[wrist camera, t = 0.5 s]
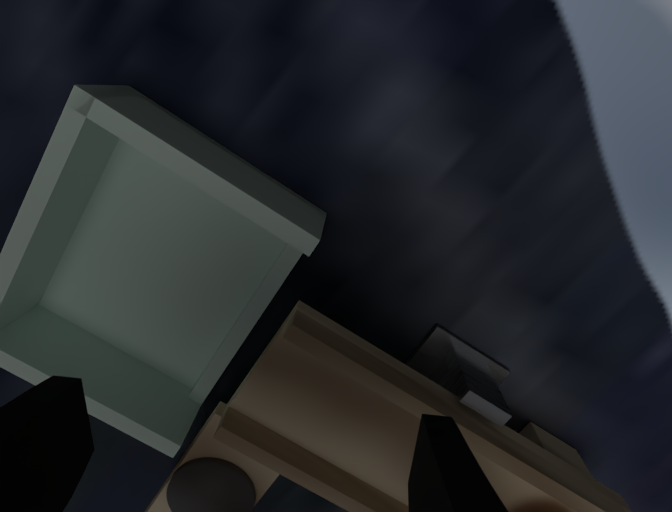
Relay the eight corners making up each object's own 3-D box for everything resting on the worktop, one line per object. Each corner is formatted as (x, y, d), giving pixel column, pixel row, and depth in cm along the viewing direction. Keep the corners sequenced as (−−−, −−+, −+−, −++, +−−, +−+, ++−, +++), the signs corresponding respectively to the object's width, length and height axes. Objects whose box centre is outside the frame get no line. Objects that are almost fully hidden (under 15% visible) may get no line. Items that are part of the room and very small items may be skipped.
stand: (403, 483, 24) (412, 552, 21) (336, 446, 24) (333, 510, 20) (508, 368, 22) (538, 423, 18) (436, 323, 21) (453, 371, 18)
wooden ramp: (431, 603, 27) (447, 717, 22) (168, 465, 24) (121, 559, 20) (591, 450, 23) (654, 546, 18) (300, 270, 21) (282, 325, 16)
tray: (201, 400, 23) (172, 458, 20) (25, 303, 22) (-41, 345, 18) (326, 212, 20) (320, 240, 16) (128, 85, 19) (74, 85, 15)
